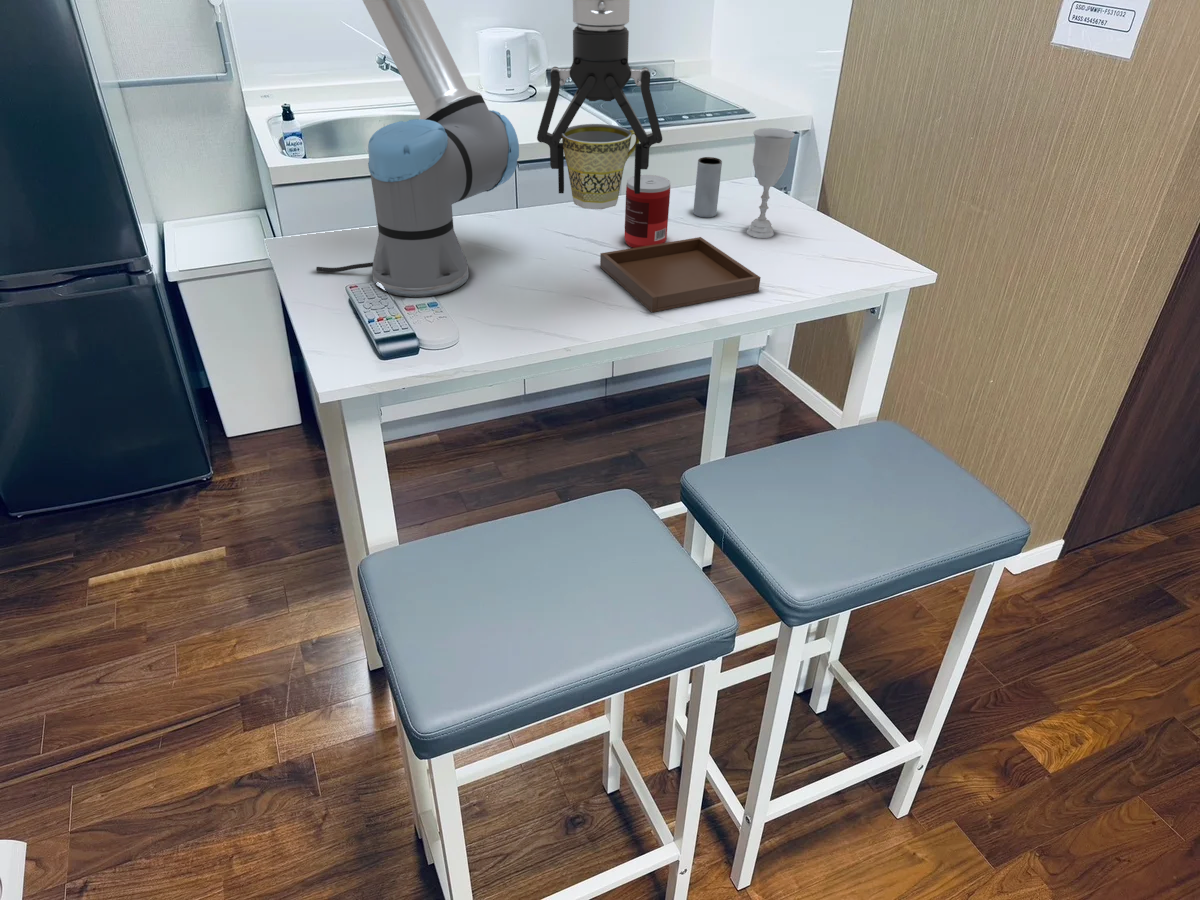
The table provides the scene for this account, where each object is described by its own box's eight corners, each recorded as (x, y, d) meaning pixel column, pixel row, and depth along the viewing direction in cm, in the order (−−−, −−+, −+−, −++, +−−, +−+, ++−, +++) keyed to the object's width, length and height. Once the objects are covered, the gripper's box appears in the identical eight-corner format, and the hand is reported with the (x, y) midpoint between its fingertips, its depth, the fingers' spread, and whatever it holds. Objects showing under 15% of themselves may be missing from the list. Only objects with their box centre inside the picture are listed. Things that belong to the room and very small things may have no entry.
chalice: (749, 241, 153) (763, 139, 142) (734, 228, 158) (746, 129, 148) (786, 237, 155) (802, 137, 144) (770, 224, 160) (784, 127, 149)
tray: (651, 312, 128) (652, 297, 127) (599, 267, 142) (600, 253, 140) (758, 291, 135) (760, 277, 134) (699, 250, 149) (700, 236, 147)
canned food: (667, 235, 154) (671, 175, 148) (665, 252, 148) (670, 190, 141) (625, 232, 155) (628, 173, 148) (622, 249, 148) (624, 187, 142)
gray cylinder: (704, 208, 167) (709, 155, 161) (721, 214, 164) (727, 161, 158) (688, 212, 164) (693, 159, 158) (704, 219, 161) (710, 165, 155)
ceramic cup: (590, 218, 119) (590, 146, 113) (549, 199, 125) (547, 130, 120) (658, 200, 126) (661, 131, 120) (616, 183, 132) (617, 117, 126)
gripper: (512, 29, 109) (520, 198, 121) (689, 31, 109) (678, 199, 122) (516, 20, 115) (523, 182, 127) (684, 22, 115) (674, 183, 128)
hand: (599, 190), depth 125 cm, fingers closed on ceramic cup, 10 cm apart
